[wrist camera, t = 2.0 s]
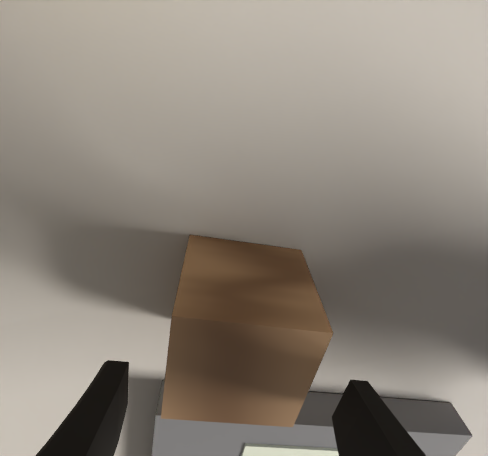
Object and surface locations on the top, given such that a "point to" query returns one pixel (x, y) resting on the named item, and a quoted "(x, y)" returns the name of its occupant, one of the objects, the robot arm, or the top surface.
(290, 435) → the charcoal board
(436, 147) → the top surface
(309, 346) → the walnut cube
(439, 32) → the top surface
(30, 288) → the top surface
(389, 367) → the top surface
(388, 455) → the robot arm
